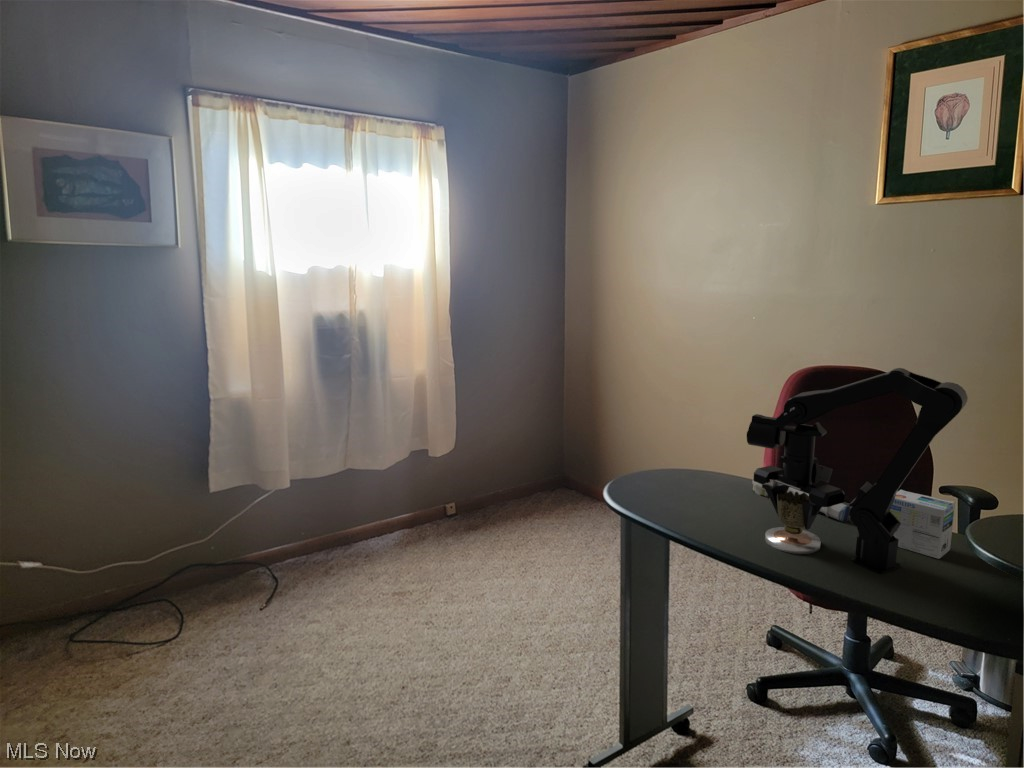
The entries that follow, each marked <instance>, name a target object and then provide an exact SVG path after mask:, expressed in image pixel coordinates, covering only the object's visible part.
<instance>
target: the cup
mask: <svg viewBox="0 0 1024 768" xmlns="http://www.w3.org/2000/svg"><path fill="white" fill-rule="evenodd" d="M808 499H809V496H808V495H807V494H806V493H802V494H800V495H799V493H798V492H795V494H793V493H792V492H791V491H790V492H787V491H786V492H785V493H784V494H782V492H781V493H780V494H777V506H778V515H777V517H778V516H779V517H778V518H779V520H780V522H781V523H782V524H783V525H784V526H783V527H784V529H785V531H786V532H787V533H790V534H800V533H802V531H803V530H804V528H805V525H804V517H803V504H802V501H804V500H808Z"/></svg>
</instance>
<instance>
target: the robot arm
mask: <svg viewBox="0 0 1024 768" xmlns="http://www.w3.org/2000/svg"><path fill="white" fill-rule="evenodd" d="M890 393H896V394H899V395H901V396H902V397H904V398H906V399H907V400H909V401H911V402H912V403H914V404H915V405H918V406H920V410H919V413H918V415H917V419H916V422H915V424H914V427H913V428H912V429H911V431H910V433H909V434H908V436H907V437H906V439H905V440H904V441H903V443H902V444H901V445H900V448H899V449H898V451H896V453H895V454H894V456H893V458H892V459H891V461H890V462H889V464H888V465H887V466H886V468H885V469H884V470H883V473H882V474H881V476H880V477H879V478H878V480H877V481H876V483H874V484H872V483H870V482H869V481H866V482H865V483H864V485H862V486H861V487H860V488H859V490H858V492H857V494H856V496H855V498H854V499H852V501H851V502H850V503H849V504H848V506H849V507H850V509H851V510H850V513H849V517H850V521H851V522H852V524H853V525H854V526H855V527H856V529H857V531H858V532H857V533H858V536H856V539H855V540H856V541H855V550H854V551H855V553H854V554H855V555H854V556H855V557H852V558H851V562H852V563H855V564H857V565H859V566H862V567H863V568H865V569H868V570H871V571H873V572H875V573H876V574H880V575H882V574H885V573H888V572H891V571H893V570H896V569H898V568H901V566H902V565H901V563H899V562H897V557H898V548H899V547H898V540H899V539H897V538H895V537H894V536H893V535H894V533H895V532H896V531H897V529H898V528H899V526H900V524H901V523H900V522H899V520H898V519H897V518H896V517H895V516H894V515H893V514H892V513H891V511H890V509H891V507H892V504H893V502H894V499H895V496H896V493H897V492H898V491H899V490H900V487H901V486H902V485H903V483H904V481H905V480H906V478H907V477H908V476H909V475H910V473H911V472H912V470H913V469H914V467H915V466H916V464H917V462H919V460H920V459H921V457H922V455H923V454H924V453H925V451H926V449H927V448H928V447H929V445H930V444H931V442H932V441H933V440H934V438H935V437H936V435H937V434H939V433H940V432H941V431H942V430H943V429H944V428H945V427H947V425H948V424H950V423H951V422H952V420H954V418H955V417H956V416H958V415H959V413H960V412H961V411H962V410H963V409H964V407H965V406H966V405H967V402H968V394H967V392H966V390H965V389H964V388H963V387H962V386H961V385H959V384H958V383H954V382H949V381H947V382H941V381H939V380H936V379H934V378H930V377H927V376H924V375H922V374H921V375H920V374H918V373H915V372H912V371H910V370H908V369H905V368H902V367H896V368H894V369H891V370H890V371H888V372H887V371H886V372H885V373H884V372H883V373H880V374H877V375H875V376H871V377H868V378H865V379H864V378H863V379H860V380H858V381H855V382H852V383H848V384H845V385H842V386H839V387H836V388H832V389H831V388H830V389H822V390H821V389H819V390H818V389H817V390H812V391H811V390H810V391H805V392H804V391H803V392H800V393H799V394H796V395H794V396H792V397H790V398H788V399H787V400H786V401H785V404H784V406H783V411H782V413H781V414H780V415H778V416H777V417H773V416H766V415H763V414H758V413H756V414H753V415H752V416H751V421H750V422H749V426H748V429H747V431H746V443H747V444H748V446H749V445H750V446H753V447H760V448H766V449H772V450H777V449H778V448H779V447H780V446H783V445H784V450H783V451H784V453H783V455H782V456H779V462H780V463H783V466H782V467H783V468H780V467H777V466H774V465H772V464H771V465H766V466H763V467H758V468H756V469H755V470H754V472H753V478H752V481H753V480H754V481H755V482H758V483H760V484H764V485H762V488H764V489H765V490H766V492H767V494H768V496H767V497H768V498H769V499H770V501H771V504H772V507H773V508H774V510H775V512H776V516H777V517H778V518H779V516H778V506H777V494H780V493H781V492H782V494H784V493H785V492H786V491H788V489H789V487H791V488H794V489H797V490H799V491H802V492H805V493H808V494H809V499H808V500H804V501H802V504H803V517H804V525H805V527H804V530H809V529H811V527H812V525H813V524H814V521H815V519H816V518H817V516H818V514H819V513H820V509H821V508H822V507H830V506H833V505H837V504H840V503H843V504H844V503H845V492H844V490H842V488H839V487H836V486H835V485H834V486H833V485H830V483H829V482H830V480H831V475H832V473H833V468H831V467H827V466H823V465H820V464H819V460H818V459H819V458H817V457H815V448H816V447H815V446H816V445H815V444H816V437H818V438H822V437H823V436H824V435H826V434H827V433H828V432H827V430H826V429H825V428H824V427H823V426H822V425H821V423H820V422H819V421H817V422H816V423H814V424H813V425H811V424H806V423H808V422H810V421H813V420H814V419H816V418H819V417H820V416H823V415H824V414H826V413H828V412H830V411H833V410H834V409H838V408H840V407H844V406H848V405H851V404H856V403H858V402H862V401H867V400H868V399H873V398H877V397H879V396H884V395H887V394H890ZM791 424H795V425H796V426H795V425H794V426H792V425H791ZM820 481H822V482H824V483H825V484H823V485H819V486H816V485H813V483H814V484H818V483H819V482H820Z"/></svg>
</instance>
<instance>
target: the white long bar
mask: <svg viewBox="0 0 1024 768" xmlns="http://www.w3.org/2000/svg"><path fill="white" fill-rule="evenodd" d="M751 483H752V485H753V486H752V491H753V492H754V494H756V495H758V496H765V497H769V496H768V494H767V492H766V490H765V489H764V488H762V485H764V484H760V483H758V482H755V481H754V480H753V479H752V482H751ZM790 491H791V492H792V493H793V494H795V492H798V493H799V495H800V494H802V493H805V492H802V491H799V490H797V489H794V488H791V487H789V489H788V491H787V492H790ZM806 494H807V495H808V496H809V494H808V493H806ZM850 510H851V506H849V505H846V504H844V503H840V504H837V505H833V506H830V507H822V508H821V509H820V511H819V513H820V512H821V513H823V514H824V515H825V516H826V517H831V518H832V519H835V520H837V521H840V522H844V521H847V520H849V517H850V516H849V513H850ZM846 519H847V520H846Z"/></svg>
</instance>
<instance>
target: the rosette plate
mask: <svg viewBox="0 0 1024 768" xmlns="http://www.w3.org/2000/svg"><path fill="white" fill-rule="evenodd" d="M764 541H765V543H766V544H767V545H769V546H770V547H772V548H773V549H775V550H778V551H781V552H783V553H784V552H785V553H789V554H795V555H807V554H814V553H816V552H818V551H820V550H821V538H820V537H819V536H818V535H817V534H814V533H813V532H810V531H809V530H807V529H803V531H802V533H800V534H790V533H787V532H786V531H785V529H784V526H777V527H772V528H769V529H767V530H766V531H765V534H764Z"/></svg>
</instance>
